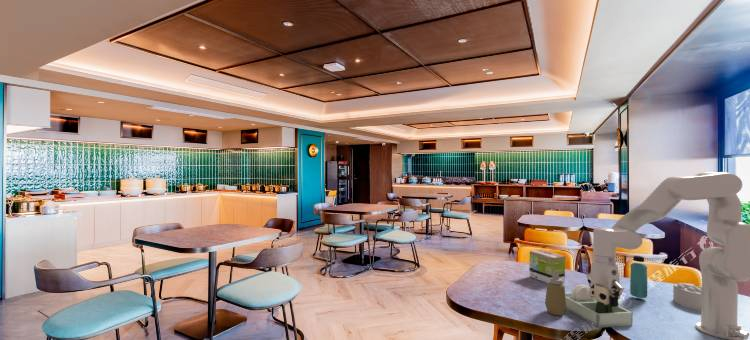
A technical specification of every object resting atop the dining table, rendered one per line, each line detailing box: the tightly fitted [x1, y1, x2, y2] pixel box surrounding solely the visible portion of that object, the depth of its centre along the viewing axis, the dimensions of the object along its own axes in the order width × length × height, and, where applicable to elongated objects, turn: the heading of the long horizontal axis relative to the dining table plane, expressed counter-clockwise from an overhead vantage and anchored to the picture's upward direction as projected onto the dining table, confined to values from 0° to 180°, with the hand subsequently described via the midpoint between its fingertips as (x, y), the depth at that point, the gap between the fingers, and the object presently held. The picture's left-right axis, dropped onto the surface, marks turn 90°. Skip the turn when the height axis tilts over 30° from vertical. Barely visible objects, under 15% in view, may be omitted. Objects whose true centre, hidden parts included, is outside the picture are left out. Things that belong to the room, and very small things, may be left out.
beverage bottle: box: [629, 255, 649, 299], centre depth 160 cm, size 6×7×20 cm
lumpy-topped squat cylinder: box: [672, 282, 702, 311], centre depth 154 cm, size 10×13×9 cm
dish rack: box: [565, 292, 634, 329], centre depth 142 cm, size 22×15×5 cm
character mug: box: [589, 283, 621, 314], centre depth 137 cm, size 11×7×13 cm, turn 74°
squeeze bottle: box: [544, 270, 567, 317], centre depth 143 cm, size 8×8×18 cm
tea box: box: [528, 249, 566, 284], centre depth 186 cm, size 15×10×15 cm, turn 25°
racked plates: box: [571, 284, 595, 301], centre depth 148 cm, size 3×9×9 cm, turn 98°
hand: (603, 301), depth 137 cm, fingers open, 9 cm apart
